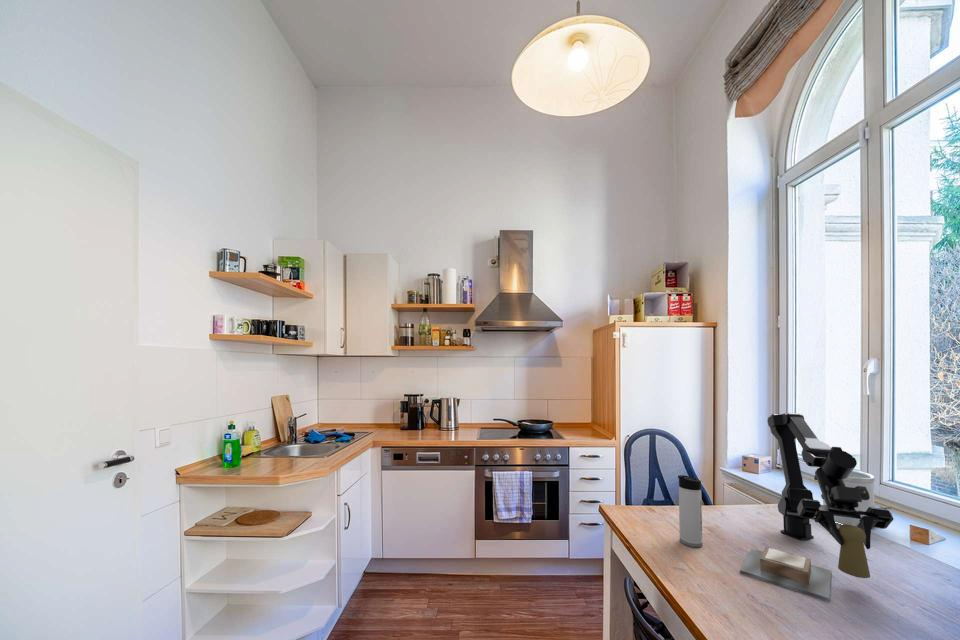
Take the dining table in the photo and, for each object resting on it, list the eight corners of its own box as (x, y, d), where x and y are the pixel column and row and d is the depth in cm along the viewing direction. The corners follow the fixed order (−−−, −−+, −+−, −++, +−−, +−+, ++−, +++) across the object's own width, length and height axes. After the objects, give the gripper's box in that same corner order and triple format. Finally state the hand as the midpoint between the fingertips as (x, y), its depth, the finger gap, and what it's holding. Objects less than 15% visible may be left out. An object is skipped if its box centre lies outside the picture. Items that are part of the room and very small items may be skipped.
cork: (877, 579, 99) (874, 532, 100) (848, 576, 100) (845, 529, 101) (859, 567, 105) (857, 522, 106) (832, 564, 106) (830, 520, 107)
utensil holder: (866, 533, 137) (863, 479, 139) (814, 517, 150) (811, 468, 152) (885, 526, 144) (882, 475, 145) (833, 511, 157) (831, 465, 159)
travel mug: (674, 538, 128) (673, 473, 130) (694, 538, 129) (693, 473, 131) (686, 547, 122) (684, 479, 124) (707, 547, 122) (705, 479, 124)
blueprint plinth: (740, 573, 108) (739, 557, 108) (751, 551, 121) (751, 537, 121) (829, 601, 96) (828, 583, 96) (831, 573, 109) (830, 557, 110)
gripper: (799, 468, 111) (817, 525, 100) (887, 477, 105) (917, 539, 93) (790, 489, 118) (806, 544, 107) (872, 498, 111) (899, 559, 100)
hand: (855, 546), depth 102 cm, fingers closed on cork, 5 cm apart
